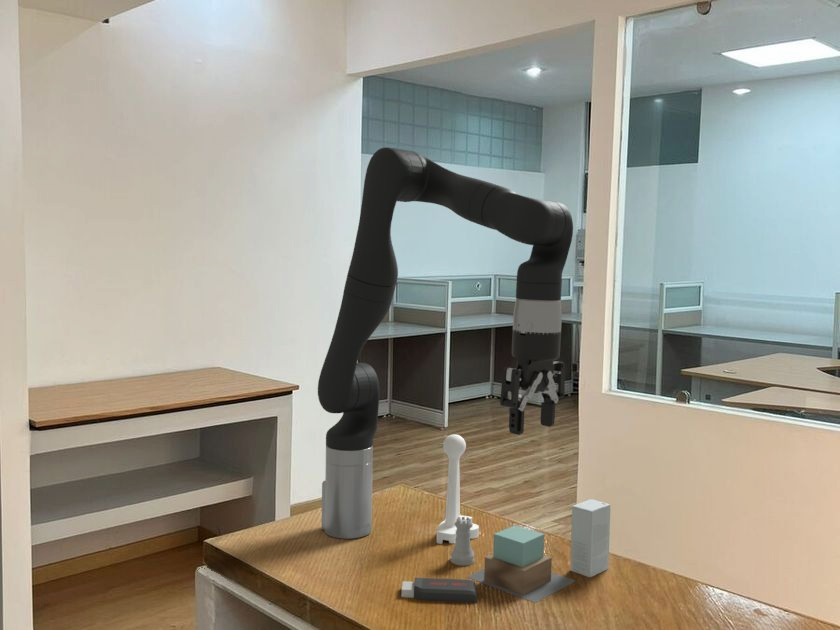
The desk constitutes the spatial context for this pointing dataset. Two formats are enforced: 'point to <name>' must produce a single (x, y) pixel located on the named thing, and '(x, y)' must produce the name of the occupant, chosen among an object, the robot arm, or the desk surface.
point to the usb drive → (440, 590)
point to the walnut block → (518, 574)
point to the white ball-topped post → (453, 492)
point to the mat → (534, 595)
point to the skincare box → (590, 537)
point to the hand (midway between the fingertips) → (532, 429)
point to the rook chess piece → (463, 543)
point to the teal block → (518, 546)
